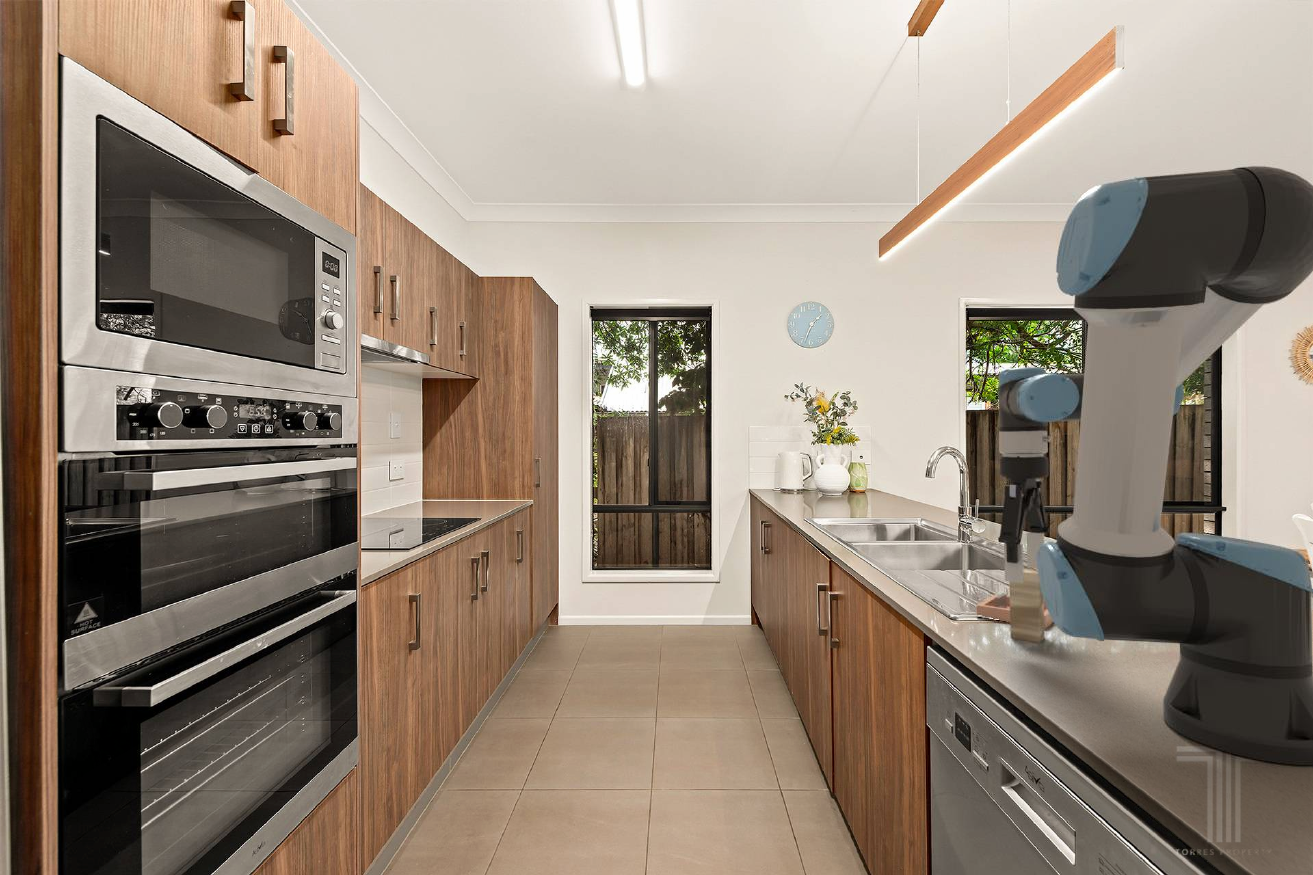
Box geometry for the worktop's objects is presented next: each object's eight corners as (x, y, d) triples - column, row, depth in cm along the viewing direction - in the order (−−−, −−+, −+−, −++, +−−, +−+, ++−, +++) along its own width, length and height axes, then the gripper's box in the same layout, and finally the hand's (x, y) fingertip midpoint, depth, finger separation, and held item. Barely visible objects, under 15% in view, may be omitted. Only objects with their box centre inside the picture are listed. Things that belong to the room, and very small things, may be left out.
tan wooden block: (1039, 642, 110) (1037, 573, 110) (1010, 637, 113) (1009, 570, 113) (1044, 638, 113) (1043, 570, 113) (1016, 633, 116) (1014, 567, 116)
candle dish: (1045, 628, 118) (1045, 609, 118) (976, 617, 126) (976, 599, 126) (1061, 615, 127) (1061, 597, 127) (996, 605, 135) (995, 588, 135)
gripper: (1027, 458, 102) (1029, 591, 102) (1064, 452, 120) (1066, 565, 120) (977, 458, 107) (979, 584, 107) (1020, 452, 125) (1022, 560, 125)
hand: (1025, 574), depth 114 cm, fingers open, 13 cm apart
